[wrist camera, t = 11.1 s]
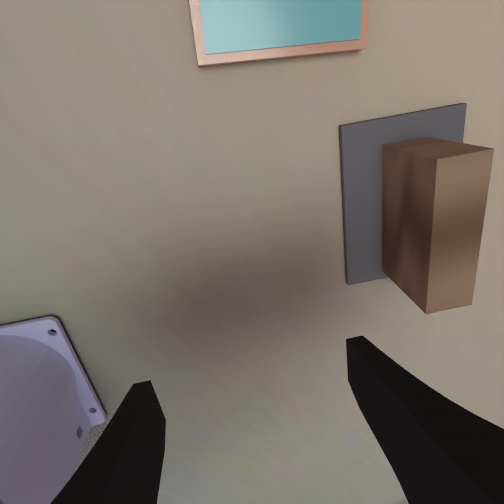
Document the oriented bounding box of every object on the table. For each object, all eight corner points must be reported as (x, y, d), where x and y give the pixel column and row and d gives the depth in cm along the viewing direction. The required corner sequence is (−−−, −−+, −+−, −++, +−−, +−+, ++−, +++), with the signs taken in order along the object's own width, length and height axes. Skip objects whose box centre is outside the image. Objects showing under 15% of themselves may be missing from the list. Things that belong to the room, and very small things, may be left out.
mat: (446, 262, 23) (449, 264, 23) (346, 282, 23) (348, 285, 22) (461, 103, 19) (466, 103, 18) (338, 125, 18) (341, 126, 18)
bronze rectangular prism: (418, 262, 22) (471, 304, 18) (381, 270, 22) (425, 313, 18) (425, 136, 19) (494, 148, 14) (382, 144, 19) (437, 159, 14)
